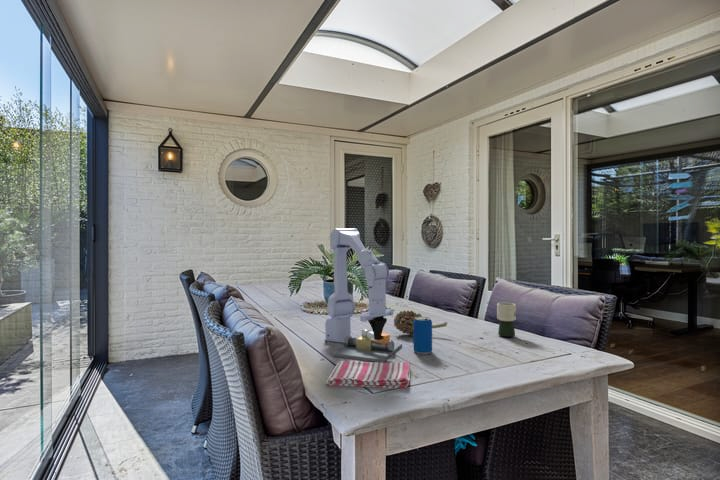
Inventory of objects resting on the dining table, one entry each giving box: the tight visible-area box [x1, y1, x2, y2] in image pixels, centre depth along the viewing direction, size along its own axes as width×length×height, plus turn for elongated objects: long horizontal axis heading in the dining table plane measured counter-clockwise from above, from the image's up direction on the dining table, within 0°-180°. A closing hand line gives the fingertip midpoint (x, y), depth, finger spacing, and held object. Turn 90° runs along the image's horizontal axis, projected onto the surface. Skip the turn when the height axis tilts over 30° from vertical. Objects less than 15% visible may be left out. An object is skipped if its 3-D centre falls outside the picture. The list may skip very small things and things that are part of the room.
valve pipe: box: [343, 335, 395, 352], centre depth 147 cm, size 18×5×4 cm, turn 66°
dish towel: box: [325, 360, 411, 390], centre depth 122 cm, size 17×23×4 cm
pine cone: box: [393, 310, 449, 336], centre depth 168 cm, size 22×10×10 cm, turn 81°
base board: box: [332, 342, 403, 363], centre depth 147 cm, size 18×20×1 cm
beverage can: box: [412, 316, 433, 355], centre depth 145 cm, size 6×6×12 cm
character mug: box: [496, 302, 517, 338], centre depth 165 cm, size 11×7×13 cm, turn 177°
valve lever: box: [361, 328, 391, 343], centre depth 144 cm, size 12×3×2 cm, turn 41°
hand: (377, 339), depth 140 cm, fingers closed
